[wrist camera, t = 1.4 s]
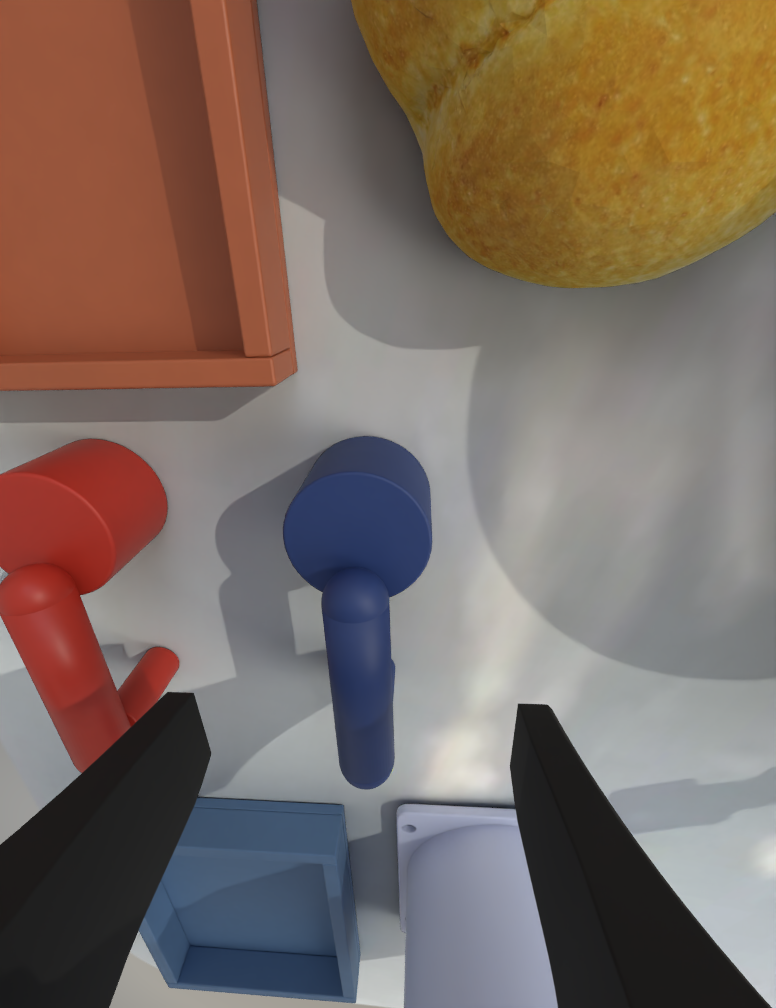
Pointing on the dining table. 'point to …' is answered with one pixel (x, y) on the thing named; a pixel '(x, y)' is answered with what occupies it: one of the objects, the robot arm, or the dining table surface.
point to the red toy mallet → (78, 583)
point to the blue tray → (258, 903)
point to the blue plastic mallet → (361, 582)
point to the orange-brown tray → (138, 198)
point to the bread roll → (586, 127)
